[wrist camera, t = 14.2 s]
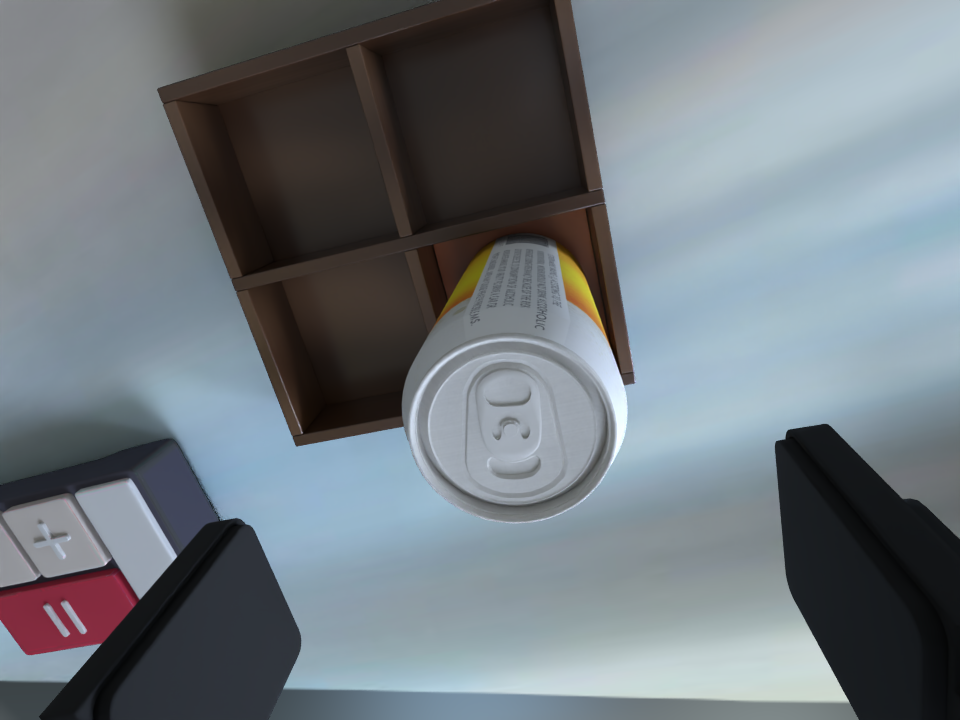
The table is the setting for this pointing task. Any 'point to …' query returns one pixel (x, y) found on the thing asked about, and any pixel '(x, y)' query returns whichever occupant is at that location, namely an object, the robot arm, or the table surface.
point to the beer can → (516, 387)
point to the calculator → (93, 543)
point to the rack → (391, 189)
